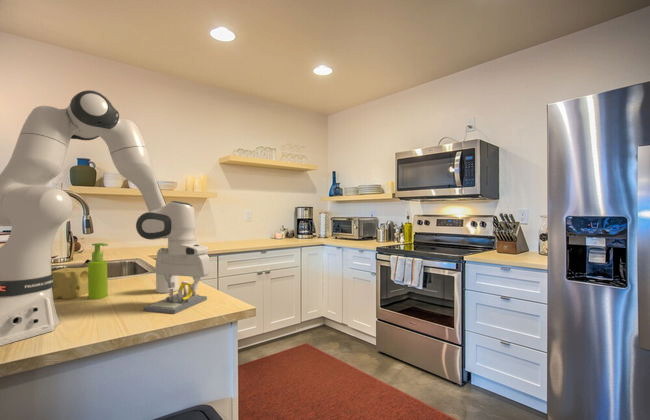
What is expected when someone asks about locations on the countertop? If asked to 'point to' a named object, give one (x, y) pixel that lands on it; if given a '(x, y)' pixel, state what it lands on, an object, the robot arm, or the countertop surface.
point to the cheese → (70, 282)
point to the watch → (188, 289)
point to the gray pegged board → (175, 302)
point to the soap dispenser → (97, 274)
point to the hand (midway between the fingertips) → (182, 288)
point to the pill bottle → (165, 284)
